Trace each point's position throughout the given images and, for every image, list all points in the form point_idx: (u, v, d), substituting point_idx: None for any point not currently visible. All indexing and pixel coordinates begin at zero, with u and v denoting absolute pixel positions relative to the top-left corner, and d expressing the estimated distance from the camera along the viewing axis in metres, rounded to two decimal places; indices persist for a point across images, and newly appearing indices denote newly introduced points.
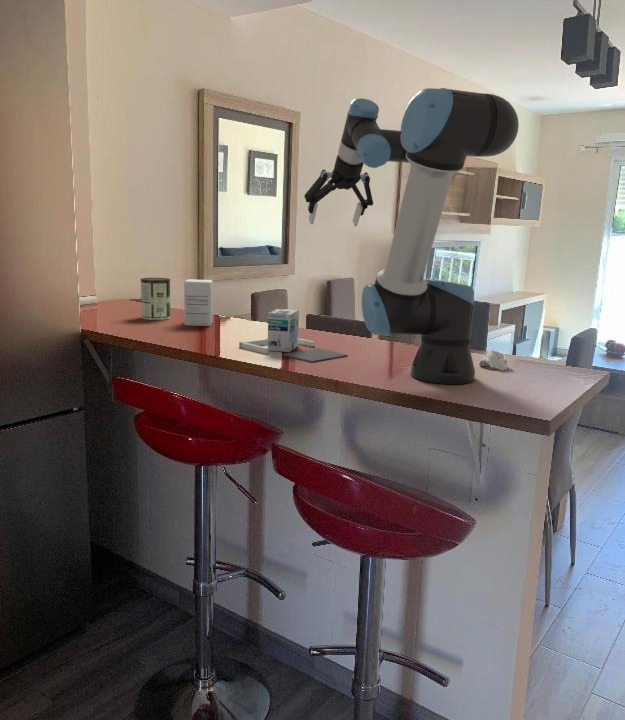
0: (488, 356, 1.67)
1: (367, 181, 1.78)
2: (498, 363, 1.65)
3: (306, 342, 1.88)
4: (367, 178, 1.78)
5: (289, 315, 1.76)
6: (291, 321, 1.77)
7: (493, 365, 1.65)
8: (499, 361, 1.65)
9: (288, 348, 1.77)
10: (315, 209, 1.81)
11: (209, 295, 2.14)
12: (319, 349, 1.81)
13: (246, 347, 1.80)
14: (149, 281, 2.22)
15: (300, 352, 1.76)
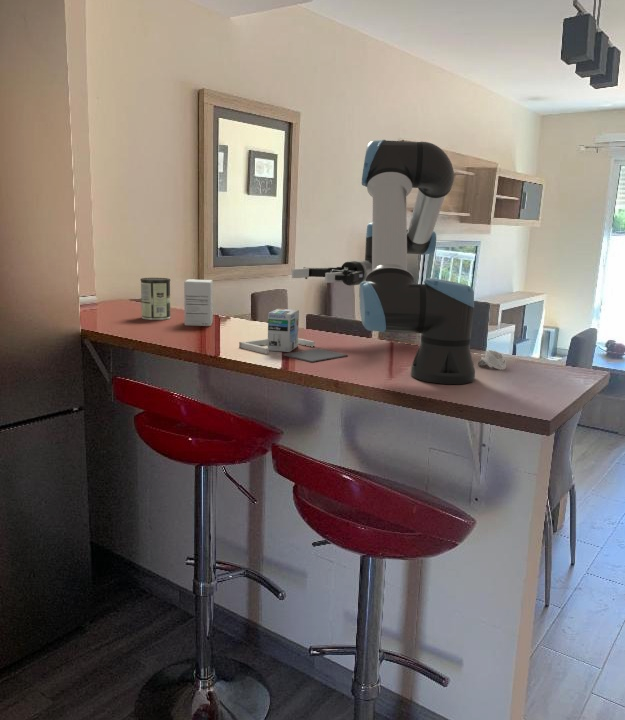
0: (487, 356, 1.68)
1: (359, 271, 1.92)
2: (497, 363, 1.65)
3: (306, 342, 1.88)
4: None
5: (289, 315, 1.76)
6: (291, 321, 1.77)
7: (492, 365, 1.66)
8: (497, 361, 1.65)
9: (288, 348, 1.77)
10: (304, 268, 1.93)
11: (209, 295, 2.14)
12: (319, 349, 1.81)
13: (246, 347, 1.80)
14: (149, 281, 2.22)
15: (300, 352, 1.76)
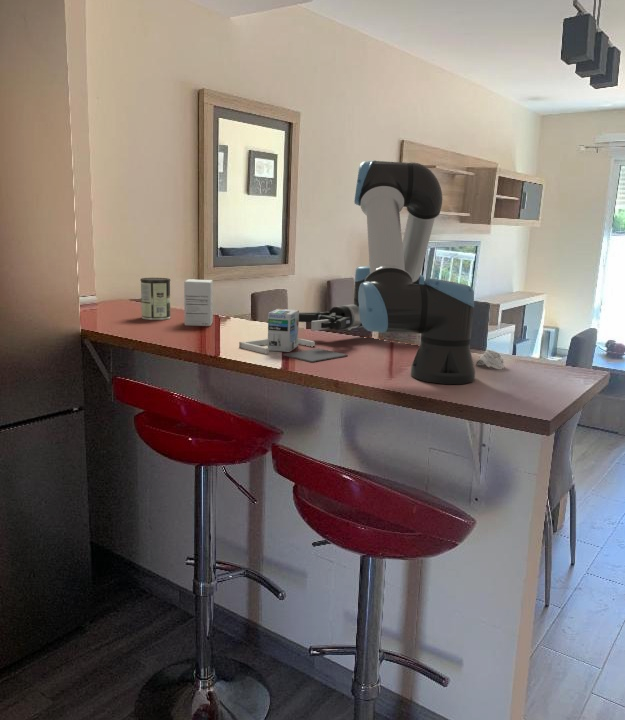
0: (485, 355, 1.68)
1: (346, 317, 1.92)
2: (495, 362, 1.66)
3: (306, 342, 1.88)
4: None
5: (289, 315, 1.76)
6: (291, 321, 1.77)
7: (490, 364, 1.66)
8: (496, 360, 1.66)
9: (288, 348, 1.77)
10: None
11: (209, 295, 2.14)
12: (319, 349, 1.81)
13: (246, 347, 1.80)
14: (149, 281, 2.22)
15: (300, 352, 1.76)
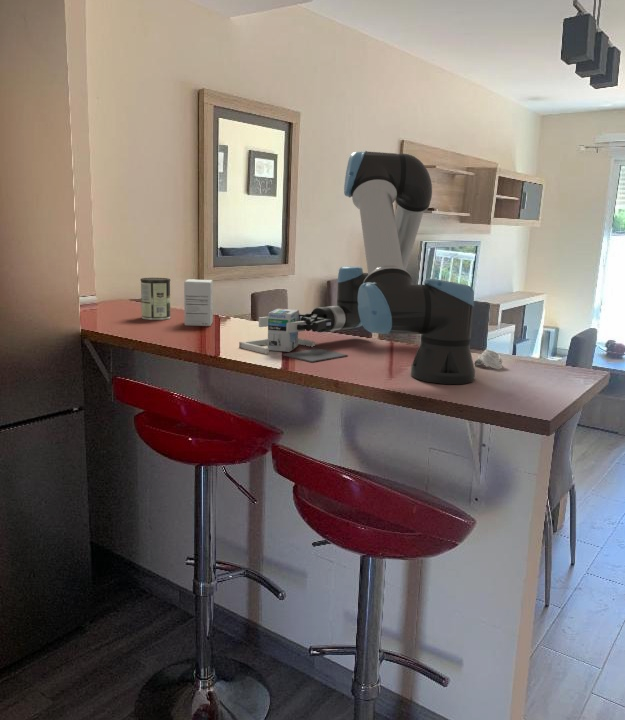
0: (483, 355, 1.68)
1: (327, 319, 1.85)
2: (493, 362, 1.66)
3: (306, 342, 1.88)
4: None
5: (289, 315, 1.76)
6: (291, 321, 1.77)
7: (488, 364, 1.66)
8: (494, 360, 1.66)
9: (288, 348, 1.77)
10: None
11: (209, 295, 2.14)
12: (319, 349, 1.81)
13: (246, 347, 1.80)
14: (149, 281, 2.22)
15: (300, 352, 1.76)
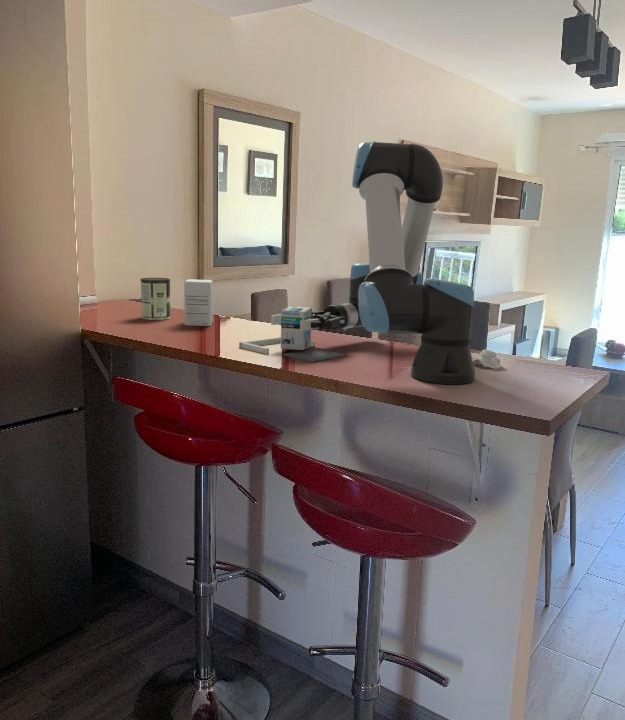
0: (481, 355, 1.68)
1: (340, 317, 1.82)
2: (491, 362, 1.66)
3: None
4: None
5: (303, 312, 1.72)
6: (305, 318, 1.74)
7: (486, 364, 1.66)
8: (492, 360, 1.66)
9: (302, 346, 1.74)
10: None
11: (209, 295, 2.14)
12: (319, 349, 1.81)
13: (246, 347, 1.80)
14: (149, 281, 2.22)
15: (300, 352, 1.76)
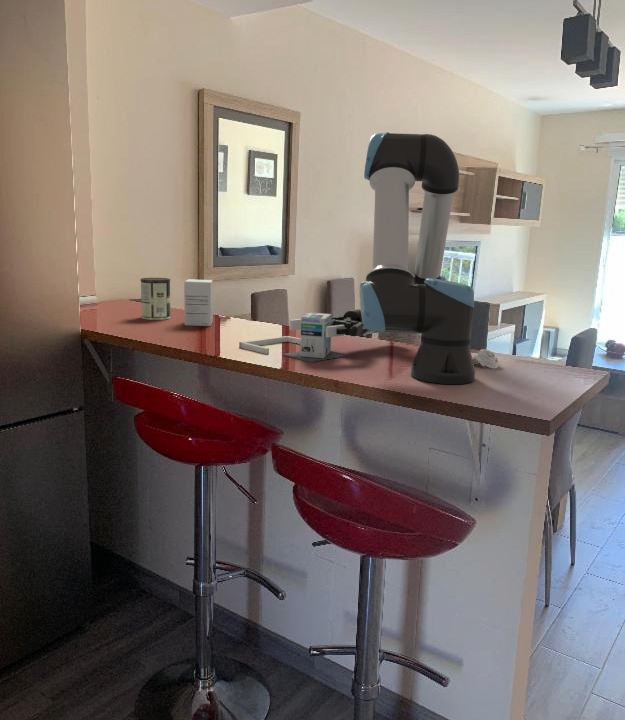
0: (479, 355, 1.69)
1: (362, 322, 1.76)
2: (489, 362, 1.67)
3: None
4: None
5: (323, 319, 1.67)
6: (325, 326, 1.68)
7: (484, 364, 1.67)
8: (490, 360, 1.67)
9: (322, 354, 1.68)
10: None
11: (209, 295, 2.14)
12: None
13: (246, 347, 1.80)
14: (149, 281, 2.22)
15: None
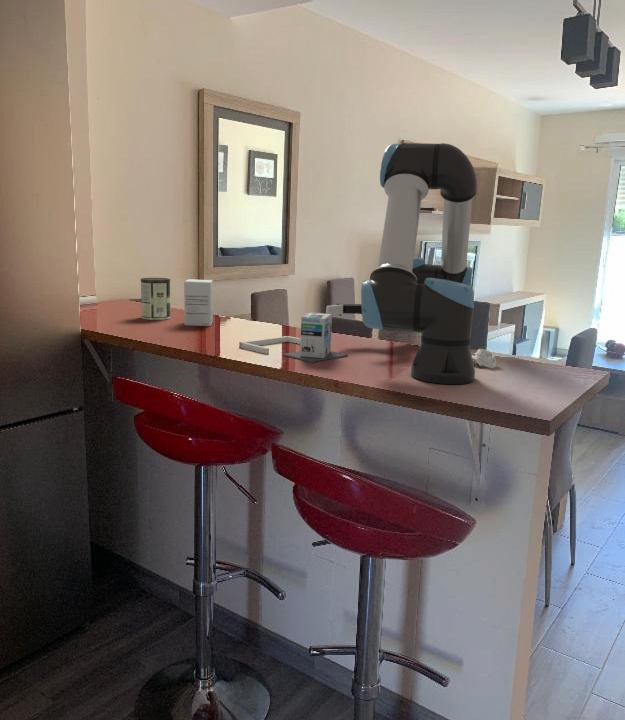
0: (477, 354, 1.69)
1: None
2: (486, 361, 1.67)
3: None
4: None
5: (323, 319, 1.67)
6: (325, 326, 1.68)
7: (481, 363, 1.67)
8: (487, 359, 1.67)
9: (322, 354, 1.68)
10: (339, 305, 1.88)
11: (209, 295, 2.14)
12: None
13: (246, 347, 1.80)
14: (149, 281, 2.22)
15: None
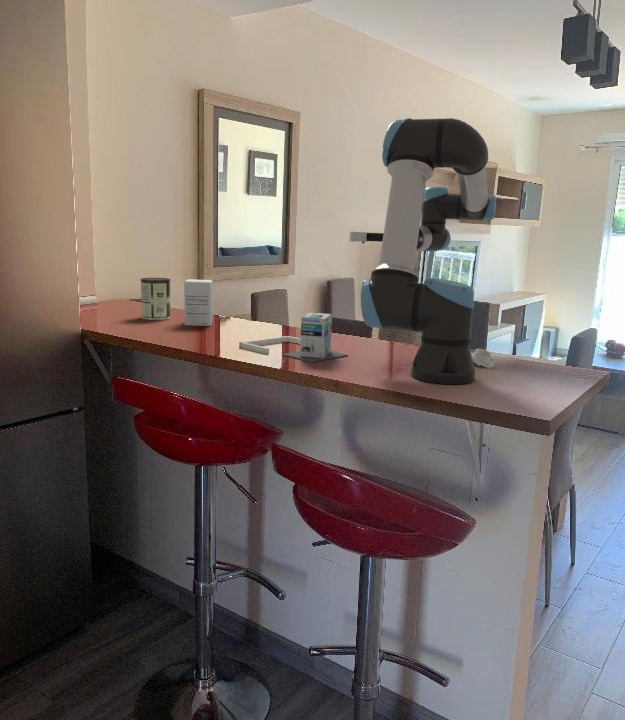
0: (475, 354, 1.69)
1: (419, 235, 1.85)
2: (484, 361, 1.67)
3: None
4: None
5: (323, 319, 1.67)
6: (325, 326, 1.68)
7: (479, 363, 1.68)
8: (485, 359, 1.67)
9: (322, 354, 1.68)
10: (362, 232, 1.87)
11: (209, 295, 2.14)
12: None
13: (246, 347, 1.80)
14: (149, 281, 2.22)
15: None
